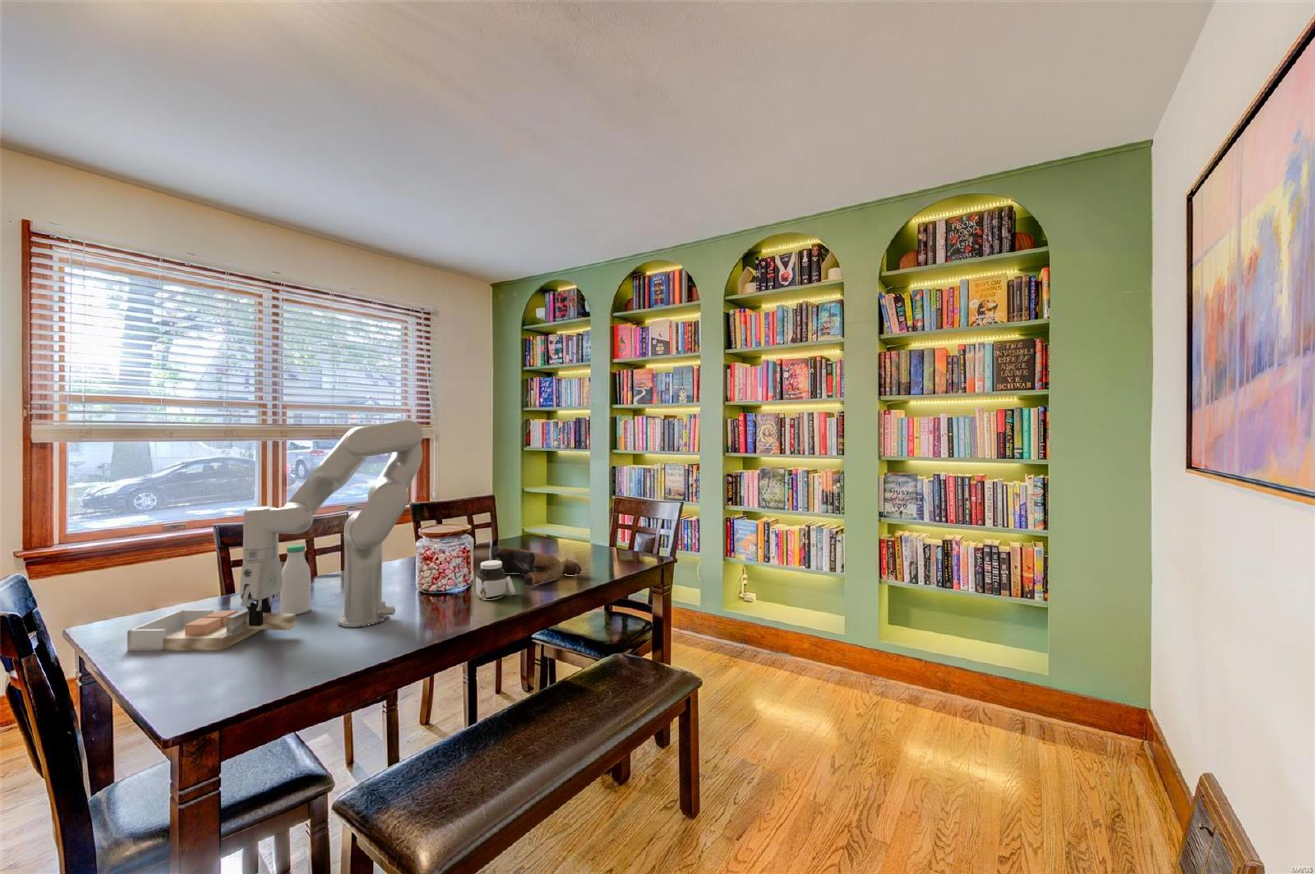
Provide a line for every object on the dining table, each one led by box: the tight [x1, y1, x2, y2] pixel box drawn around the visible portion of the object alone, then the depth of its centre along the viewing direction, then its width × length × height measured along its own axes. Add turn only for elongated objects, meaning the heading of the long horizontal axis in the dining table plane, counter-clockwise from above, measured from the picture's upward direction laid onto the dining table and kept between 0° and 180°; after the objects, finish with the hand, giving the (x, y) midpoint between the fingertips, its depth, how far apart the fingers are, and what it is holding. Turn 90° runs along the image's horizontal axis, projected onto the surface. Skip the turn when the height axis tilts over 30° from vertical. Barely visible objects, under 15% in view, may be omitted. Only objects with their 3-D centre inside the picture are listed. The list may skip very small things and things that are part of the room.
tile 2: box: [204, 609, 239, 626], centre depth 145 cm, size 5×5×2 cm
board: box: [163, 625, 263, 652], centre depth 142 cm, size 14×16×3 cm
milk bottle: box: [279, 544, 312, 616], centre depth 163 cm, size 8×8×20 cm
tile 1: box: [185, 618, 221, 635], centre depth 139 cm, size 5×5×2 cm
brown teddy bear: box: [491, 545, 583, 587], centre depth 205 cm, size 13×31×25 cm
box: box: [126, 609, 215, 652], centre depth 141 cm, size 8×16×5 cm, turn 2°
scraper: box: [226, 608, 297, 635], centre depth 142 cm, size 12×12×4 cm
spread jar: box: [475, 559, 517, 599], centre depth 179 cm, size 12×11×12 cm
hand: (260, 622), depth 142 cm, fingers closed on scraper, 2 cm apart
